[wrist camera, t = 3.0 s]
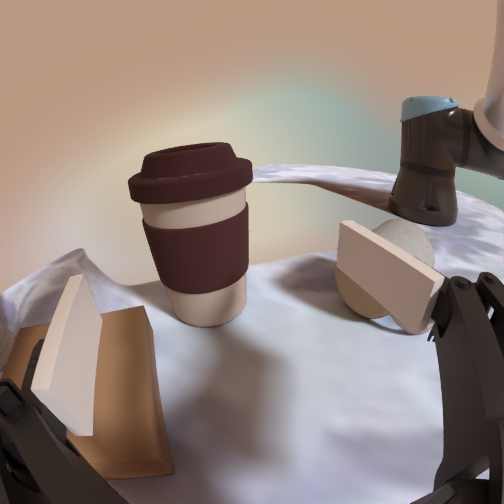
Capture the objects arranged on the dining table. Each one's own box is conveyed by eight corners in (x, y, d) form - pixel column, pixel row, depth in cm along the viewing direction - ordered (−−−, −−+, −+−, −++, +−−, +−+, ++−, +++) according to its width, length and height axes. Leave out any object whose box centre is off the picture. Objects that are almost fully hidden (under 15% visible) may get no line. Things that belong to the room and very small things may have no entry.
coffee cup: (179, 276, 32) (156, 147, 25) (263, 277, 31) (255, 137, 24) (147, 334, 23) (99, 168, 16) (255, 342, 22) (240, 149, 15)
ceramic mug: (324, 300, 26) (332, 228, 22) (370, 271, 30) (380, 208, 26) (413, 357, 18) (446, 280, 15) (446, 311, 22) (470, 244, 19)
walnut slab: (152, 330, 23) (143, 305, 22) (174, 473, 12) (157, 458, 10) (34, 350, 20) (20, 328, 18) (10, 468, 8) (-16, 449, 7)
